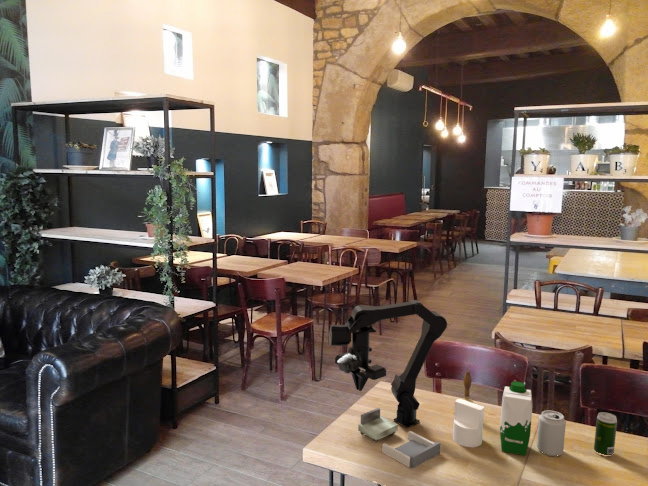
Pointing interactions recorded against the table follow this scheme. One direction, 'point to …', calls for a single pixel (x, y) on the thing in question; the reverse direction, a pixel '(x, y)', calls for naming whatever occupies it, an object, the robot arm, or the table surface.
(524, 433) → the milk carton
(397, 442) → the table surface
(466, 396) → the hand bell
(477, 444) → the cylinder with rectangular tab
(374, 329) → the robot arm
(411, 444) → the tray
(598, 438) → the beer can
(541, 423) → the can
